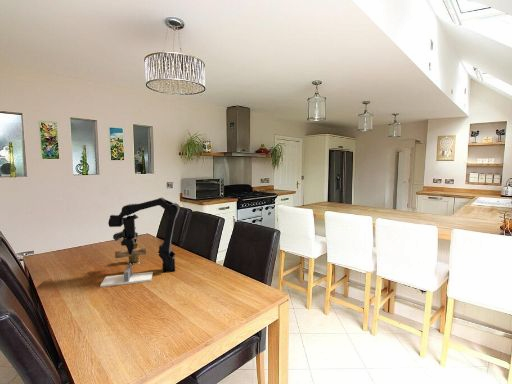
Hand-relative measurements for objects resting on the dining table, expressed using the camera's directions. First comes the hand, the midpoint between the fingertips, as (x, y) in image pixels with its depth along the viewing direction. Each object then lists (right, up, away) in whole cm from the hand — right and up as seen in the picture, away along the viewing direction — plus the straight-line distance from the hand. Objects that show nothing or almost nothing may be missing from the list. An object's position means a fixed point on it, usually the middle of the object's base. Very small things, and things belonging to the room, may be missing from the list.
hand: (130, 253), depth 158 cm
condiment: (-5, -10, +16) cm, 19 cm away
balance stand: (+3, -12, -11) cm, 16 cm away
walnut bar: (0, -1, 0) cm, 1 cm away
